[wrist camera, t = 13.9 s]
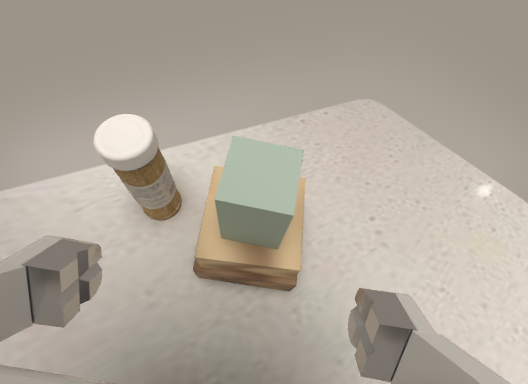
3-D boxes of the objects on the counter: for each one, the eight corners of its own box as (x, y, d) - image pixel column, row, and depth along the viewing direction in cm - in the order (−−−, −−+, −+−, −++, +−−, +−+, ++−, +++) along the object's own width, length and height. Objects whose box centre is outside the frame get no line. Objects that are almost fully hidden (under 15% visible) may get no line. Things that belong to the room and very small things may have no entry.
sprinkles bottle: (150, 183, 36) (106, 106, 24) (187, 190, 36) (160, 117, 24) (137, 217, 34) (80, 152, 22) (175, 225, 34) (140, 163, 22)
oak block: (199, 267, 28) (194, 257, 24) (217, 185, 32) (214, 166, 28) (292, 278, 28) (300, 270, 24) (297, 195, 32) (305, 178, 28)
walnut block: (198, 277, 32) (192, 269, 27) (217, 196, 36) (214, 179, 32) (288, 291, 32) (296, 285, 28) (296, 208, 36) (303, 193, 32)
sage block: (221, 238, 25) (214, 199, 18) (234, 187, 27) (233, 135, 20) (277, 249, 25) (293, 215, 18) (286, 198, 27) (303, 150, 20)
